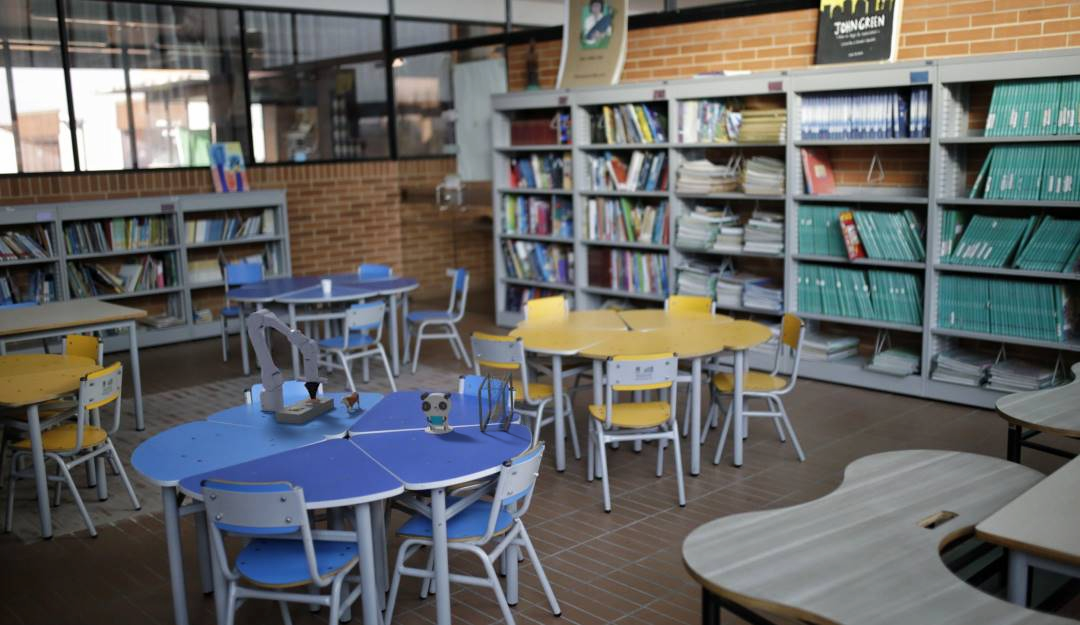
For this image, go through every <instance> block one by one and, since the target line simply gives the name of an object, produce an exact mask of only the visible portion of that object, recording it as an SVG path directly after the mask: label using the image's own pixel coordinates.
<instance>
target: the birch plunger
mask: <svg viewBox="0 0 1080 625" xmlns="http://www.w3.org/2000/svg"><path fill="white" fill-rule="evenodd" d="M300 410H302V407H294V408H291V411H300Z"/></svg>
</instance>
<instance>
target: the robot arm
mask: <svg viewBox="0 0 1080 625" xmlns="http://www.w3.org/2000/svg"><path fill="white" fill-rule="evenodd" d="M247 323H248V329H247V333H248V334H247V335H248V336H249V339H250V342H251V344H252V346H253V349H254V351H255V352H254V353H255V354H256V357H257V359H258V362H259V365H260V368H261V370H262V371H261V375H260V378H261V385H262V387H263V389H262V390H260V394H259V399H260V409H259V410H260V411H261V412H262V411H263V412H264V411H266V412H275V413H276V412H278V411H280V410H282V409H284V408H286V407H289V405H285V404H284V403H285V402H284V389H283V385H284V384H285V379H286V378H285V376H284V374H283V373H282V372H281V370H280V368H278V367H277V366H276V365H275V363H274V360H273V358H272V355H271V353H270V351H269V348H268V345H267V342H266V339H265V336H264V334H263V331H264V329H265V328H266V327H272V328H274V329H275V330H277V331H279V332H280V333H281V334H283V335H284V336H286V337H287V338H286V339H287V340H288V342H289V343H291V344H292V345H294V346H295V347H297V348H298V349H299V351H300V353H301V354H302V357H303V372H304V376H297V377H296V378H295V379H296V380H295V381H296V383H300V382H301V383H304V384H303V386H304V387H305V389H306V390H307V392H308V395H309V397H310V398H311V399H315V398H316V397H317V393H318V389H319V387H320V385H321V384H323V385H324V384H328V383H329V381H328V377H321V376H319V369H318V368H319V367H318V365H319V364H318V355H317V353H318V352H317V351H318V350H319V343H318V342H317V341H316V340H315V339H312V338H309V337H308V336H306V335H305V334H303V333H302V331H301V330H299V329H291V328H290V327H289V326H288V325H287V324H285V323H284V321H282V320H281V319H280V318H278V317H277V316H276V314H275V313H274V312H272V311H271V310H269V309H268V308H263V309H260V310H258V311H256V312H255V311H254V312H252V313H251V314H250V315H249V316H248V318H247Z"/></svg>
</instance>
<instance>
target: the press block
mask: <svg viewBox="0 0 1080 625" xmlns="http://www.w3.org/2000/svg"><path fill="white" fill-rule="evenodd" d="M317 397H318V398H319V402H317V403H308V399H309V398H310V396H308V397H306V398H303V399H302V400H299V401H297V402H295V403H293V404H291V405H288V407H286V408H284V409H282V410H280V411H278V412H276V411H275V422H276V423H287V424H297V425H299V424H300V425H302V424H303V423H305V422H307V421H309V420H312V419H313V418H315V417H318V416H319V415H321V414H323V413H326V412H327V411H330V410H331V409H333V408H335V400H334V398H335V397H325V396H324V397H323V396H322V397H321V396H320V397H319V396H317ZM294 407H302V410H300V411H291V408H294Z"/></svg>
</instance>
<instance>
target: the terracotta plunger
mask: <svg viewBox="0 0 1080 625" xmlns="http://www.w3.org/2000/svg"><path fill="white" fill-rule="evenodd" d="M318 397H319V396H316V398H315V399H311V398H309V399H308V403H317V402H319V398H318Z"/></svg>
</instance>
